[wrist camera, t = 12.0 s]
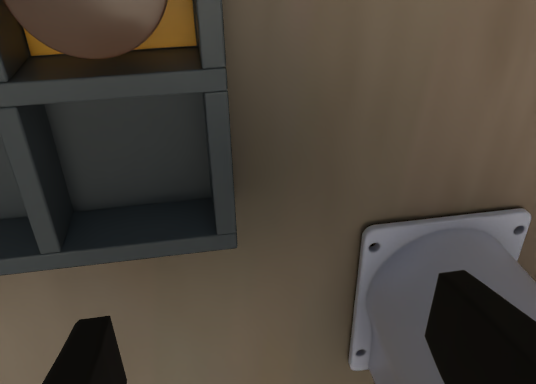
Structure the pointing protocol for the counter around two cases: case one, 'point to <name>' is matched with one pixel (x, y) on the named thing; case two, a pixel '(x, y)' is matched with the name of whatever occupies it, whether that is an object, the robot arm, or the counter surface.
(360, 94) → the counter surface
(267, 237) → the counter surface
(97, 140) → the grid
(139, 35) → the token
